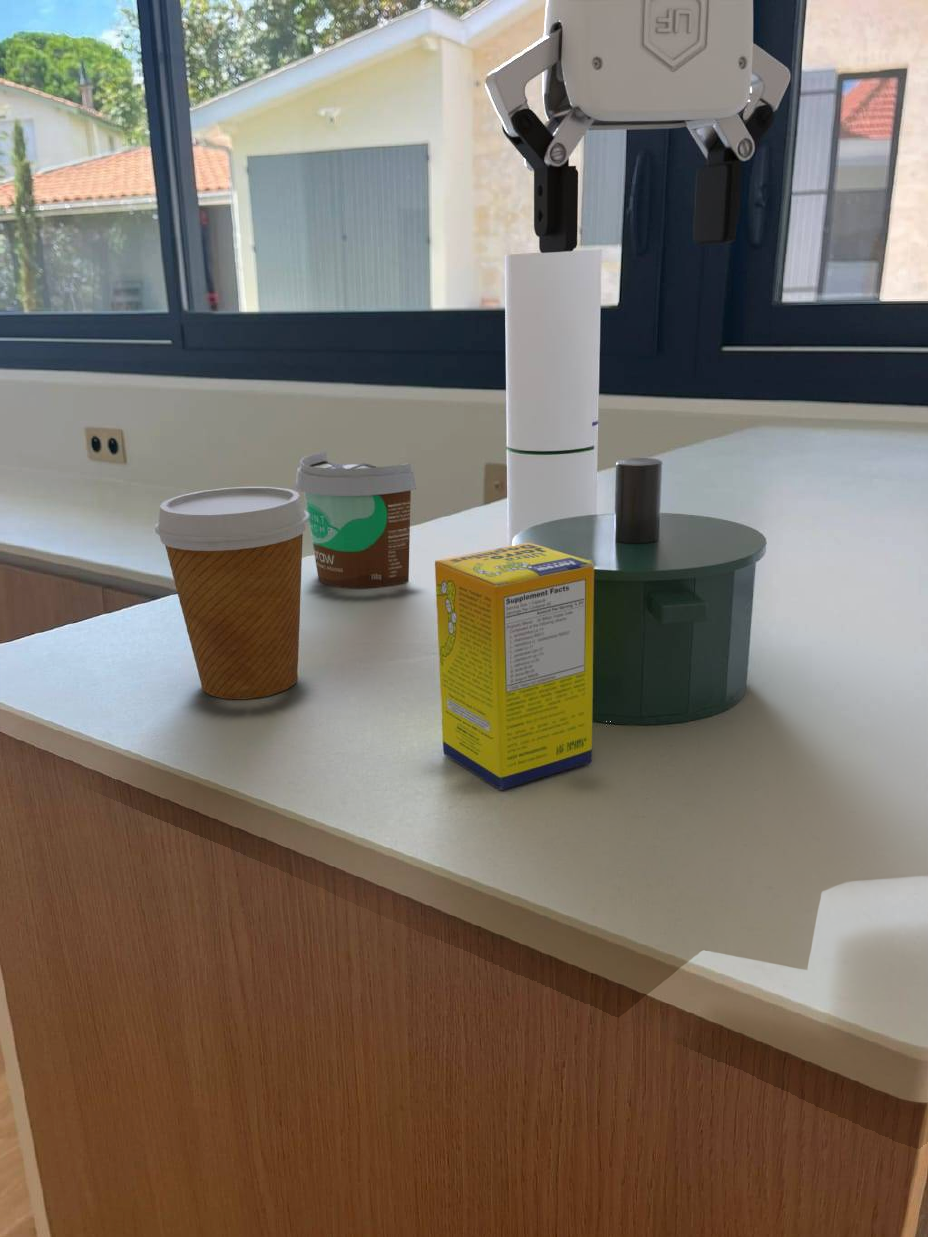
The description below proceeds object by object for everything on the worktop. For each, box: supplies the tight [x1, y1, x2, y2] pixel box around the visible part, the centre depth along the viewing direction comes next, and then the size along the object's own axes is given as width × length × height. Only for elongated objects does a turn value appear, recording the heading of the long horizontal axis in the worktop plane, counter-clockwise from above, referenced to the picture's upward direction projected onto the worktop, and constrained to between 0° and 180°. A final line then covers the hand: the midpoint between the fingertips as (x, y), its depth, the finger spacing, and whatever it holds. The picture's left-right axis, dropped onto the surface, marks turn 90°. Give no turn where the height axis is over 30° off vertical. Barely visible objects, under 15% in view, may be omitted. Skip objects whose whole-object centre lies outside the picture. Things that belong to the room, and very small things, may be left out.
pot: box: [592, 562, 757, 726], centre depth 67 cm, size 14×19×8 cm
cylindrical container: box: [504, 248, 603, 547], centre depth 87 cm, size 7×7×25 cm
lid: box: [512, 457, 768, 582], centre depth 65 cm, size 15×15×6 cm
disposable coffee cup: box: [154, 486, 309, 700], centre depth 70 cm, size 10×10×12 cm
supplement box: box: [434, 543, 594, 791], centre depth 57 cm, size 6×6×11 cm
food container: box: [295, 450, 417, 589], centre depth 93 cm, size 12×6×10 cm, turn 40°
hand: (637, 247), depth 61 cm, fingers open, 9 cm apart
